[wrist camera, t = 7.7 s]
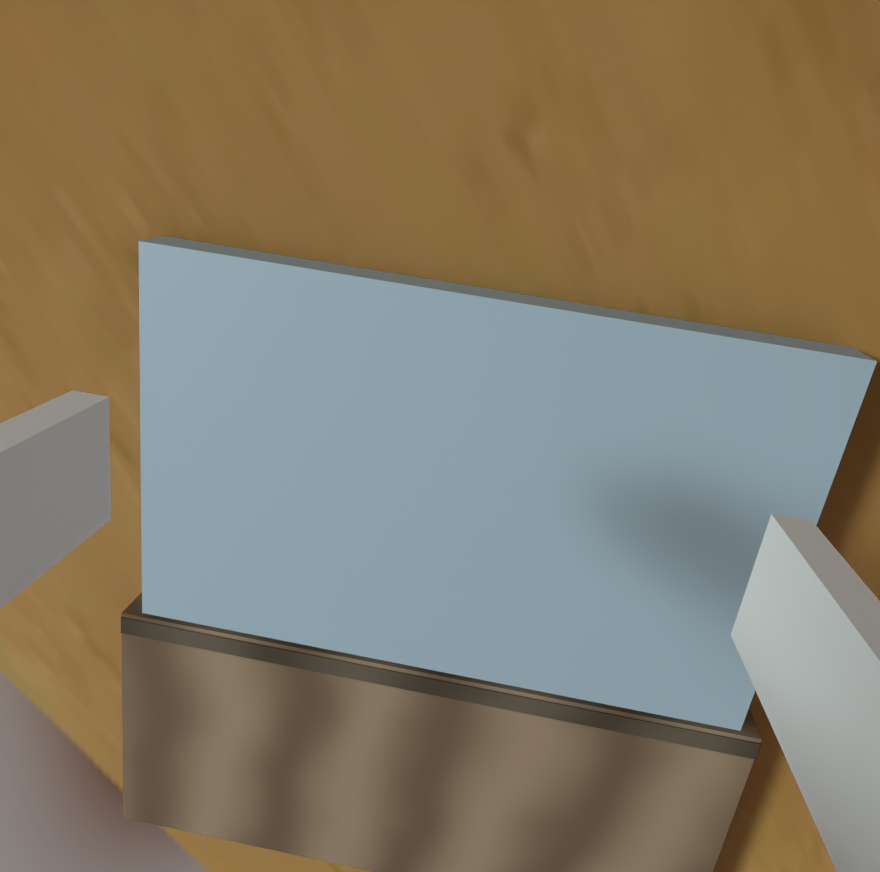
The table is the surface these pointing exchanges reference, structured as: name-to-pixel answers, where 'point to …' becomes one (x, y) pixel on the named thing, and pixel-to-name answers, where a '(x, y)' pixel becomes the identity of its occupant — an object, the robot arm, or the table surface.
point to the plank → (472, 473)
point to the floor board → (411, 761)
